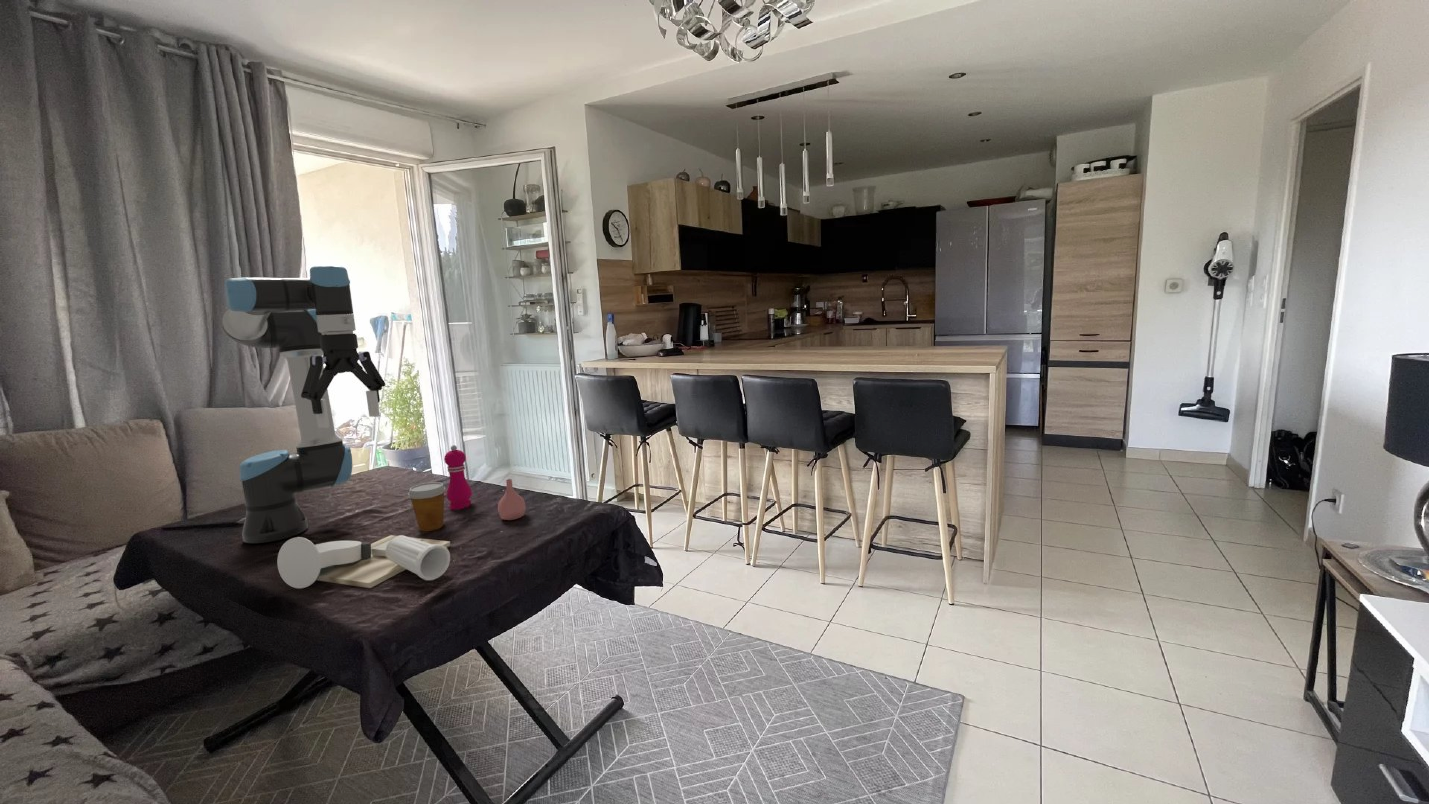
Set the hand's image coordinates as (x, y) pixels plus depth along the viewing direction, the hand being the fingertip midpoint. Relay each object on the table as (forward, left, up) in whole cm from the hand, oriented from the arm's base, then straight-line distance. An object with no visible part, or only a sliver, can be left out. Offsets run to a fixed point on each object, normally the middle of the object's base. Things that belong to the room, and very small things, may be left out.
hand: (350, 421), depth 142 cm
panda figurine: (-1, -16, -29) cm, 33 cm away
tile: (+2, +3, -32) cm, 33 cm away
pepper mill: (-5, +37, -35) cm, 51 cm away
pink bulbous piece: (+19, +31, -35) cm, 51 cm away
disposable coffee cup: (-1, +21, -35) cm, 41 cm away
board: (+5, -1, -35) cm, 35 cm away
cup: (+13, -3, -30) cm, 32 cm away
